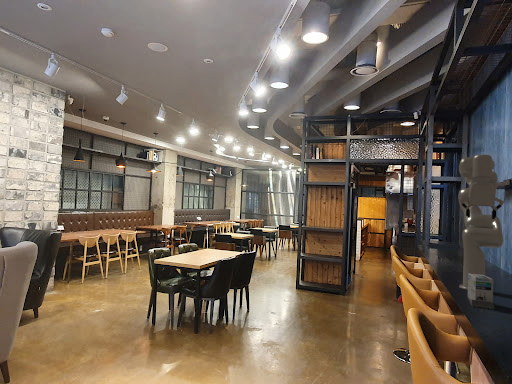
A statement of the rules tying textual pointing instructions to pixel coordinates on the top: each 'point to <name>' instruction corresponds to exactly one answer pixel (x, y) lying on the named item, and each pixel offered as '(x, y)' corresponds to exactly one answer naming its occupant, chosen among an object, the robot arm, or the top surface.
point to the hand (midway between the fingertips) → (480, 218)
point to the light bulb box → (480, 287)
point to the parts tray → (482, 304)
